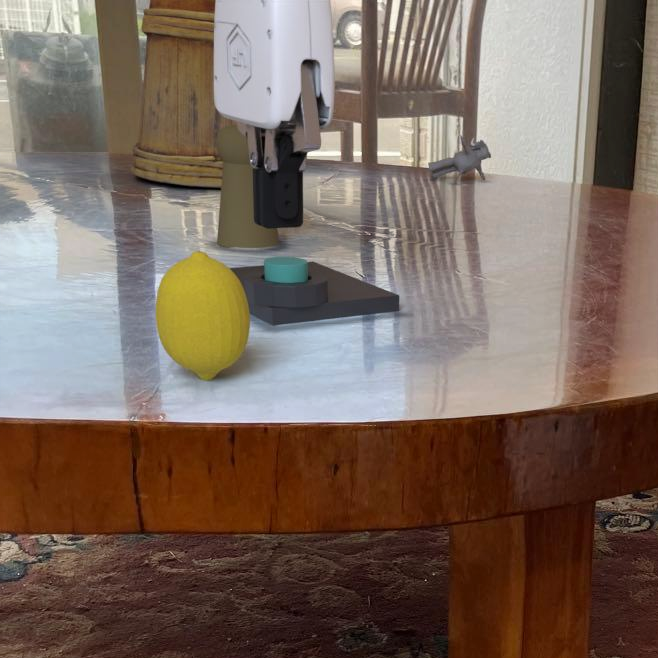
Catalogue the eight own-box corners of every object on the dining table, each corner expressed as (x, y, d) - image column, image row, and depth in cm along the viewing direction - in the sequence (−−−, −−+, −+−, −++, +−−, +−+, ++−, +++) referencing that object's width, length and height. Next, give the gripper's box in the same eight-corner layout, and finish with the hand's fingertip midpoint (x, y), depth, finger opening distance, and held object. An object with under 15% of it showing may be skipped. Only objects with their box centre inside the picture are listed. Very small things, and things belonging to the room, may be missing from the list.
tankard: (140, 168, 153) (123, -36, 142) (315, 175, 158) (311, -22, 147) (123, 187, 137) (103, -41, 126) (318, 194, 142) (314, -25, 131)
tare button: (277, 287, 82) (276, 266, 82) (257, 278, 84) (256, 258, 84) (315, 284, 84) (315, 263, 84) (295, 275, 86) (295, 255, 86)
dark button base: (269, 329, 82) (267, 288, 80) (188, 288, 92) (185, 251, 90) (403, 314, 88) (403, 276, 87) (313, 277, 98) (313, 242, 97)
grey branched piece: (441, 175, 168) (497, 157, 166) (445, 208, 166) (502, 190, 164) (415, 134, 159) (474, 114, 157) (419, 168, 157) (479, 149, 155)
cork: (204, 244, 108) (197, 124, 104) (238, 235, 114) (233, 120, 109) (259, 251, 107) (254, 130, 102) (291, 242, 112) (288, 126, 107)
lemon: (144, 388, 68) (132, 254, 64) (186, 364, 73) (177, 239, 69) (230, 398, 67) (222, 264, 64) (266, 373, 72) (261, 247, 68)
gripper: (175, -60, 78) (188, 210, 85) (274, -59, 68) (279, 248, 75) (274, -48, 82) (278, 207, 90) (381, -45, 72) (375, 243, 80)
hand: (278, 225), depth 83 cm, fingers closed
